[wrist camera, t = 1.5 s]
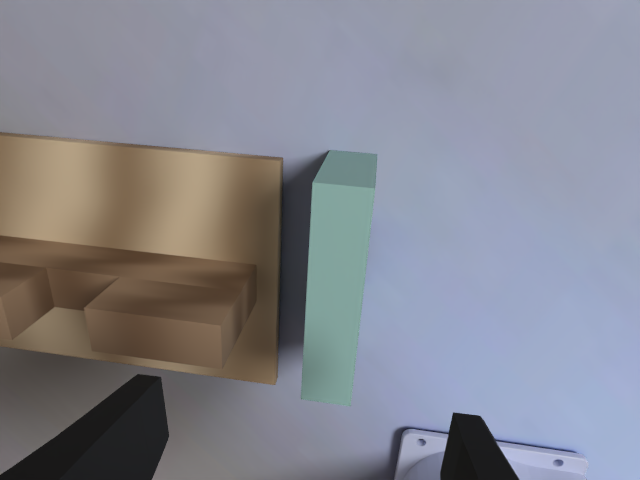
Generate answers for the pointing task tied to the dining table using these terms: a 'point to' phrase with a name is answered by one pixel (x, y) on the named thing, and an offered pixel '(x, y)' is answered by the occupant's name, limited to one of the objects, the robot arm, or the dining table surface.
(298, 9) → the dining table surface
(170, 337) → the slotted board
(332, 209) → the mint green block
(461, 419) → the robot arm
